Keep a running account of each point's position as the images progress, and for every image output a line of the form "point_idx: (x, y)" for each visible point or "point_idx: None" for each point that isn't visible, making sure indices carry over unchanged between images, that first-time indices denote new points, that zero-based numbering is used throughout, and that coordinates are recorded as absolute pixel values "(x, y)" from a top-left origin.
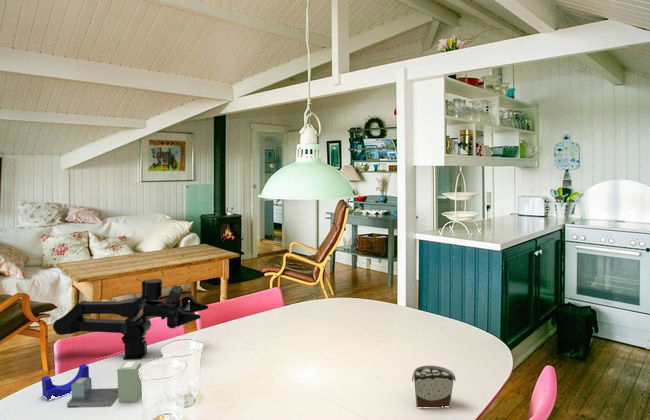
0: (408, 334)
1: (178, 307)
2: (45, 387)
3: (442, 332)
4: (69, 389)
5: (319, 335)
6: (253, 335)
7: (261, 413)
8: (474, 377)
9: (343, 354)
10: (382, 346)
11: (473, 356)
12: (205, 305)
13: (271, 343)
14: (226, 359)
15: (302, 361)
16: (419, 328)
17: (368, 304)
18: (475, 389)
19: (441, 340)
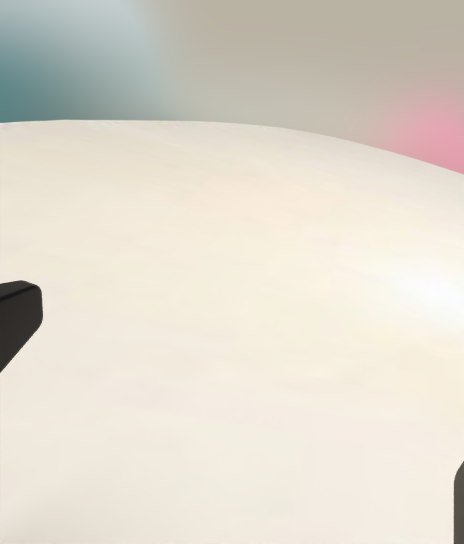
0: (235, 152)
1: None
2: None
3: (243, 137)
4: None
5: (164, 213)
6: None
7: None
8: (418, 168)
9: (311, 219)
10: (281, 180)
11: (345, 150)
12: (4, 294)
13: (161, 302)
14: (289, 504)
15: (347, 278)
16: (213, 140)
17: (27, 129)
18: (458, 178)
19: (276, 145)
